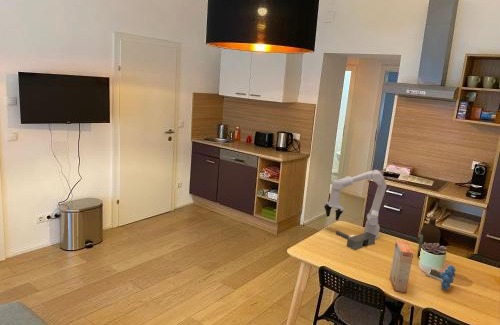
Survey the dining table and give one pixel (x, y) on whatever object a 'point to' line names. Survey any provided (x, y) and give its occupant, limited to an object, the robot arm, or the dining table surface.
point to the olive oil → (429, 234)
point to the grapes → (447, 277)
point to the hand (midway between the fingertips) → (332, 218)
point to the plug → (343, 235)
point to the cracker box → (401, 266)
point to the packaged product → (437, 272)
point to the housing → (361, 240)
